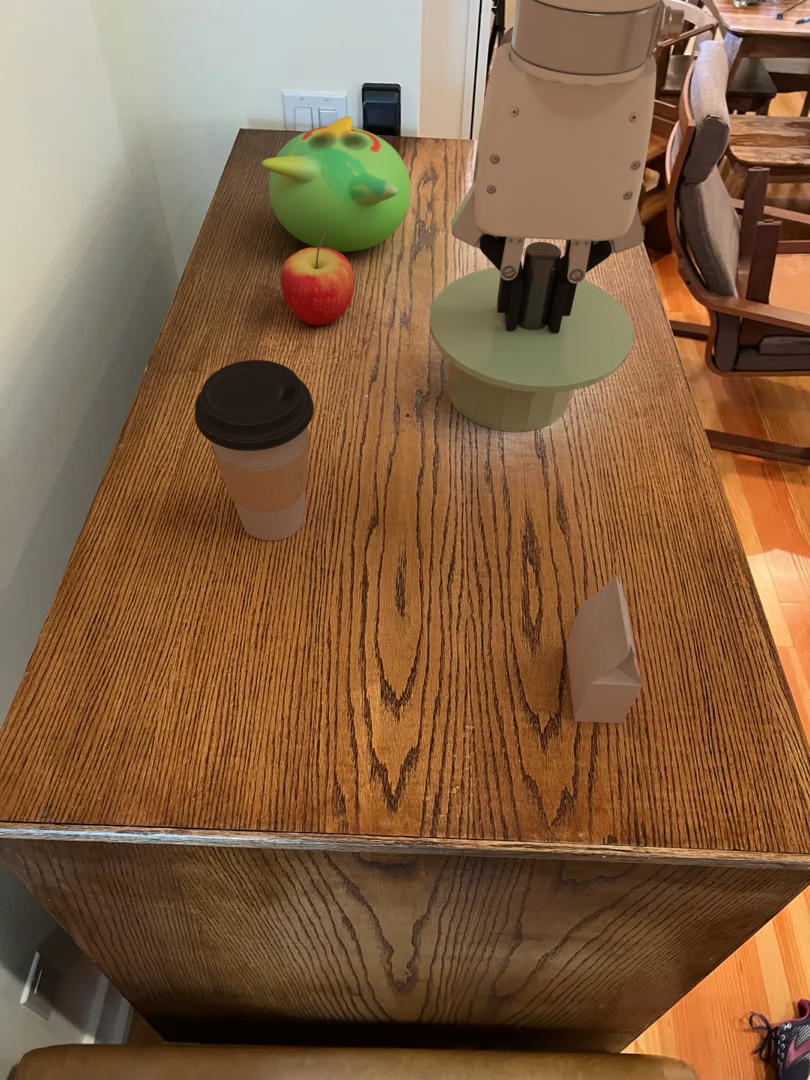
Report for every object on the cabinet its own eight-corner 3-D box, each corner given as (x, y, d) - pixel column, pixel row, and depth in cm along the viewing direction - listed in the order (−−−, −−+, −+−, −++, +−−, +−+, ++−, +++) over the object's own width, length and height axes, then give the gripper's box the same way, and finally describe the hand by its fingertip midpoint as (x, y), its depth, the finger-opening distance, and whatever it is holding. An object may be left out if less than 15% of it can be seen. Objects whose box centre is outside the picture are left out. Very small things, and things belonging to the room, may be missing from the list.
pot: (562, 340, 90) (576, 274, 84) (579, 452, 78) (598, 386, 72) (446, 335, 90) (452, 269, 84) (446, 446, 78) (452, 380, 72)
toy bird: (414, 217, 108) (418, 104, 96) (401, 283, 97) (404, 165, 86) (288, 207, 109) (277, 94, 97) (261, 272, 98) (245, 154, 86)
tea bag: (574, 721, 59) (603, 653, 51) (565, 646, 63) (591, 573, 56) (622, 723, 59) (658, 656, 51) (610, 648, 63) (642, 575, 56)
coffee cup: (336, 540, 70) (327, 414, 58) (234, 569, 68) (204, 444, 56) (306, 470, 75) (292, 343, 64) (211, 495, 73) (179, 367, 62)
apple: (368, 311, 93) (367, 233, 85) (326, 346, 88) (320, 267, 81) (314, 289, 96) (308, 212, 88) (270, 322, 91) (260, 243, 83)
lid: (615, 283, 62) (636, 202, 56) (644, 404, 52) (673, 320, 47) (430, 275, 62) (435, 193, 56) (426, 394, 52) (431, 309, 47)
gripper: (715, 14, 44) (633, 296, 58) (435, 2, 44) (422, 287, 58) (747, 63, 39) (649, 357, 53) (433, 49, 39) (419, 347, 54)
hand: (531, 318), depth 56 cm, fingers closed on lid, 2 cm apart
